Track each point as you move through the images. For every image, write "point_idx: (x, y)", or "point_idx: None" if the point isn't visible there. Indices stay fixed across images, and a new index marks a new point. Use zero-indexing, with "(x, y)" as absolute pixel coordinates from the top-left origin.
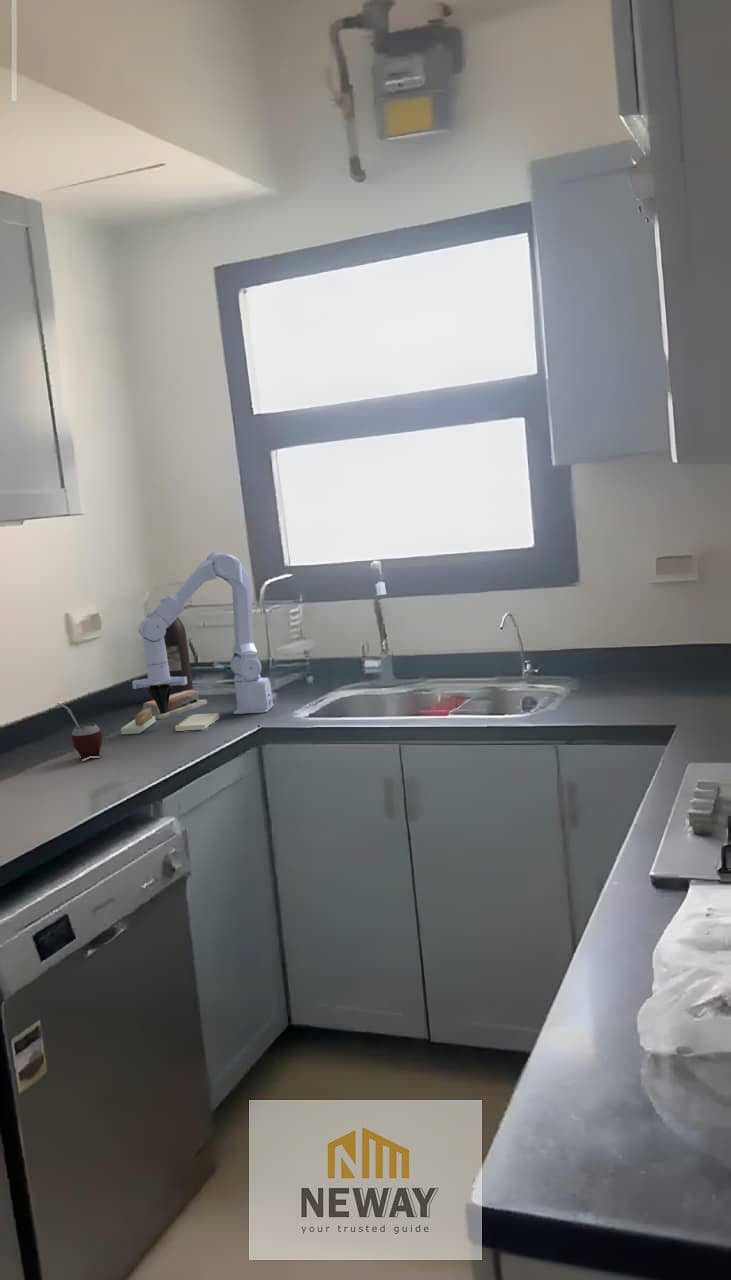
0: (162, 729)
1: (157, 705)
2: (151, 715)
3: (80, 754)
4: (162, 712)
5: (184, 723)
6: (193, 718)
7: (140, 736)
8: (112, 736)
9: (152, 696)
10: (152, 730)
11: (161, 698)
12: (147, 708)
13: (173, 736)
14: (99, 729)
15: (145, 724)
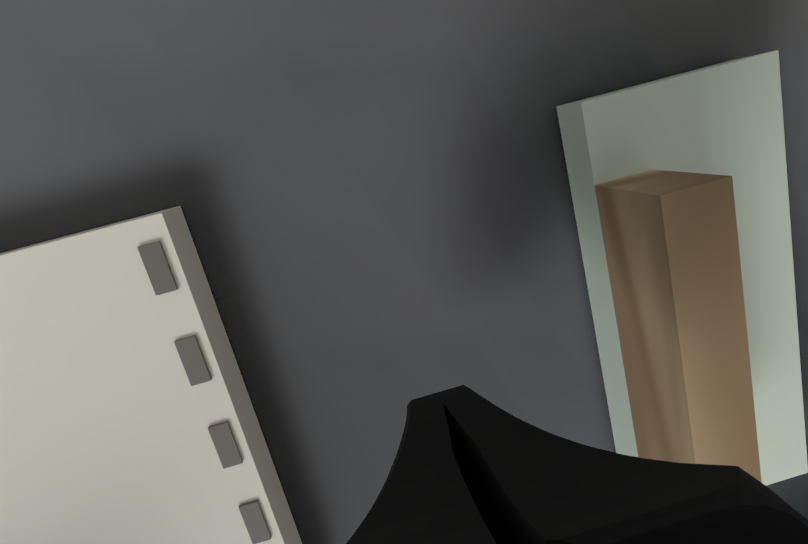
0: (406, 285)
1: (509, 415)
2: None
3: None
4: (437, 394)
5: (132, 333)
6: (170, 512)
7: (491, 23)
8: (802, 14)
9: (628, 458)
10: (492, 245)
11: (440, 494)
12: None
13: (80, 36)
14: None
15: (604, 286)
